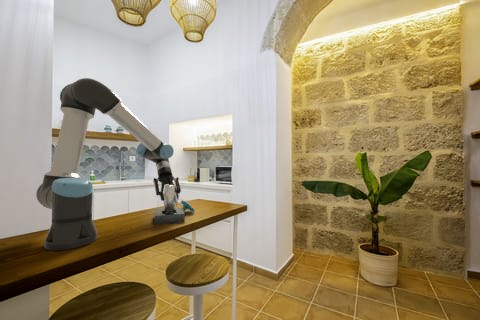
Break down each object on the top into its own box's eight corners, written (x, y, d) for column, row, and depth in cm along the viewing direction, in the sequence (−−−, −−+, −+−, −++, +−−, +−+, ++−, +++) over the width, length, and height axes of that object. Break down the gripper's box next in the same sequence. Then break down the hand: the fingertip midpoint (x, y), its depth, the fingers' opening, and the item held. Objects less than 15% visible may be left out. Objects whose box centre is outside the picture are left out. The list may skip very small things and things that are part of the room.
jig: (154, 224, 97) (154, 216, 98) (154, 217, 110) (154, 209, 110) (184, 221, 103) (184, 213, 103) (181, 214, 116) (181, 207, 116)
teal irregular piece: (197, 210, 119) (185, 199, 116) (191, 219, 116) (178, 207, 114) (191, 209, 128) (179, 199, 126) (185, 217, 126) (173, 206, 123)
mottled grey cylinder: (164, 213, 104) (164, 186, 104) (164, 211, 108) (164, 185, 108) (174, 213, 106) (175, 185, 106) (174, 210, 110) (174, 184, 110)
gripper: (178, 174, 125) (187, 206, 111) (146, 175, 115) (151, 211, 101) (181, 166, 120) (190, 198, 106) (148, 166, 111) (153, 202, 97)
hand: (171, 204), depth 104 cm, fingers closed on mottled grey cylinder, 5 cm apart
